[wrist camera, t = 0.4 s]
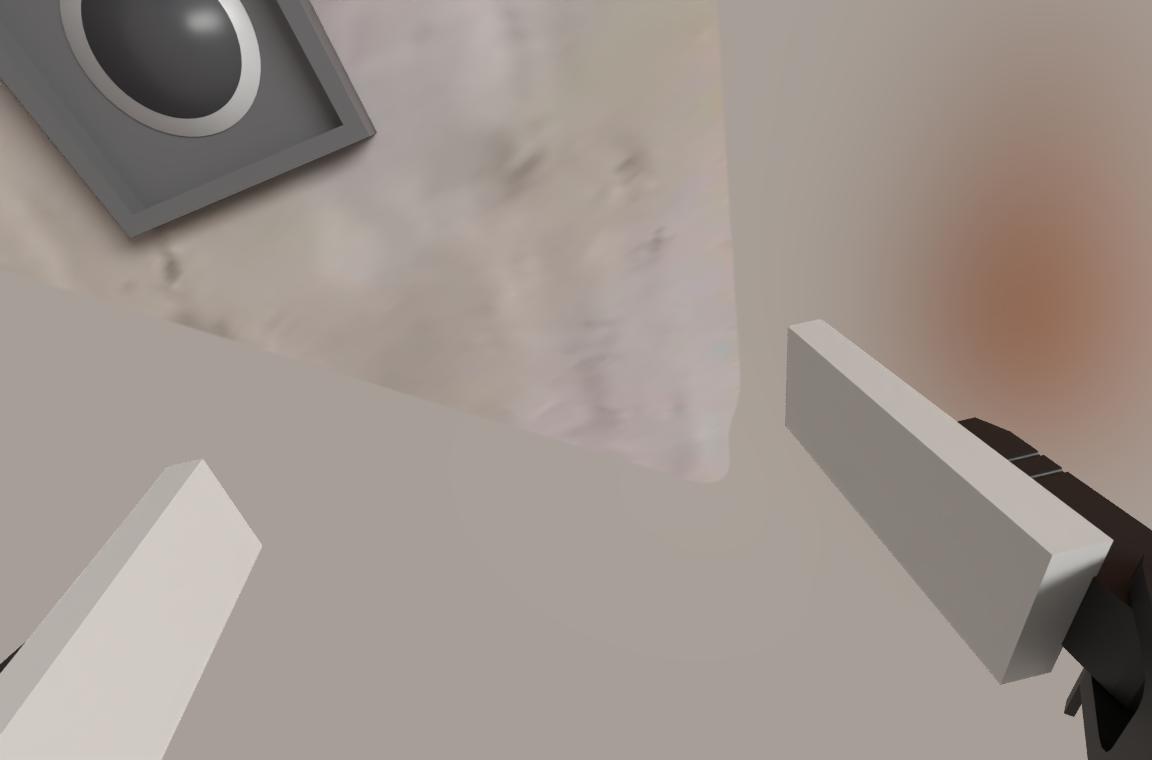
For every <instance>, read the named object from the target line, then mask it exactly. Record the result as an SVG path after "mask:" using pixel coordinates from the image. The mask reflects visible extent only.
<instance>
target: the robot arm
mask: <svg viewBox="0 0 1152 760" xmlns="http://www.w3.org/2000/svg"><path fill="white" fill-rule="evenodd" d="M786 383H787V384H786V418H785V419H786V420H785V425H786V427H787V428H788V429H789V430H790V431H791V433H792V434H793V435H794V436H795V437H796V439H797V440H798V441H799V442H800V443H801V445H802V446H803V447H804V448H805V450H806V451H807V452H808V453H809V454H810V455H811V457H812V458H813V459H814V460H815V462H816V463H817V464H818V465H819V466H820V468H821V469H822V470H823V471H824V472H825V474H826V475H827V476H828V477H829V478H830V480H831V481H832V482H833V483H834V484H835V486H836V487H837V488H838V489H839V490H840V492H841V493H842V494H843V495H844V496H845V498H846V499H847V500H848V501H849V502H850V504H851V505H852V506H853V507H854V509H855V510H856V511H857V512H858V513H859V515H860V516H861V517H862V518H863V519H864V521H865V522H866V523H867V524H868V525H869V527H870V528H871V529H872V530H873V531H874V533H875V534H876V535H877V536H878V538H879V539H880V540H881V541H882V542H883V544H884V545H885V546H886V547H887V548H888V550H889V551H890V552H891V553H892V554H893V556H894V557H895V558H896V559H897V560H898V561H899V563H900V564H901V565H902V566H903V568H904V569H905V570H906V571H907V572H908V574H909V575H910V576H911V577H912V579H913V580H914V581H915V582H916V583H917V585H918V586H919V587H920V588H921V589H922V591H923V592H924V593H925V594H926V595H927V596H928V598H929V599H930V600H931V601H932V602H933V604H934V605H935V606H936V607H937V608H938V610H939V611H940V612H941V613H942V614H943V616H944V617H945V618H946V619H947V621H948V622H949V623H950V624H951V626H952V627H953V628H954V629H955V630H956V632H957V633H958V634H959V635H960V636H961V638H962V639H963V640H964V641H965V642H966V643H967V645H968V646H969V647H970V648H971V650H972V651H973V652H974V653H975V654H976V656H977V657H978V658H979V659H980V660H981V662H982V663H983V664H984V665H985V666H986V668H987V669H988V670H989V671H990V673H991V674H992V675H993V676H994V677H995V678H996V680H997V681H998V682H999V683H1000V685H1001V684H1005V683H1009V682H1013V681H1017V680H1021V679H1025V678H1029V677H1032V676H1037V675H1041V674H1045V673H1049V672H1051V670H1052V669H1053V666H1054V664H1055V662H1056V660H1057V658H1058V656H1059V654H1060V652H1061V650H1062V648H1063V647H1064V648H1065V649H1066V650H1067V651H1068V652H1069V653H1070V654H1071V655H1072V656H1073V657H1074V658H1075V659H1076V660H1077V661H1078V662H1079V663H1080V664H1081V665H1082V666H1083V667H1084V668H1083V671H1082V672H1081V674H1080V676H1079V678H1078V680H1077V682H1076V684H1075V685H1074V687H1073V689H1072V691H1071V693H1070V695H1069V697H1068V699H1067V701H1066V706H1065V711H1064V713H1065V714H1068V715H1070V716H1073V717H1074V716H1075V714H1076V713H1077V711H1078V709H1079V707H1080V705H1081V704H1082V710H1083V719H1084V728H1085V738H1086V746H1087V756H1088V760H1152V530H1150V529H1149V528H1147V527H1146V526H1145V525H1143V524H1142V523H1140V522H1139V521H1138V520H1136V519H1135V518H1133V517H1132V516H1130V515H1129V514H1128V513H1126V512H1125V511H1123V510H1122V509H1120V508H1119V507H1117V506H1116V505H1115V504H1113V503H1112V502H1110V501H1109V500H1107V499H1106V498H1104V497H1103V496H1102V495H1100V494H1099V493H1097V492H1096V491H1094V490H1093V489H1092V488H1090V487H1089V486H1087V485H1086V484H1085V483H1083V482H1082V481H1080V480H1079V479H1077V478H1076V477H1074V476H1073V475H1072V474H1070V473H1069V472H1066V473H1064V472H1063V471H1062V468H1061V467H1060V466H1059V465H1057V464H1056V463H1054V462H1053V461H1052V460H1050V459H1049V458H1047V457H1046V456H1044V455H1042V456H1040V455H1039V454H1038V451H1037V450H1036V449H1034V448H1033V447H1032V446H1030V445H1029V444H1027V443H1025V442H1024V441H1023V440H1021V439H1020V438H1019V437H1017V436H1016V435H1014V434H1013V433H1011V432H1010V431H1007V430H1005V429H1003V428H1000V427H998V426H995V425H993V424H990V423H988V422H985V421H982V420H980V419H977V418H971V419H966V420H962V421H958V422H957V421H955V420H954V419H953V418H951V417H950V416H949V415H947V414H946V413H945V412H943V411H942V410H941V409H939V408H938V407H937V406H935V405H934V404H933V403H931V402H930V401H929V400H927V399H926V398H925V397H923V396H922V395H921V394H920V393H918V392H917V391H916V390H914V389H913V388H912V387H910V386H909V385H908V384H906V383H905V382H904V381H902V380H901V379H900V378H898V377H897V376H896V375H894V374H893V373H892V372H890V371H889V370H888V369H886V368H885V367H884V366H882V365H881V364H880V363H879V362H877V361H876V360H875V359H873V358H872V357H871V356H869V355H868V354H867V353H865V352H864V351H863V350H861V349H860V348H859V347H857V346H856V345H855V344H853V343H852V342H851V341H849V340H848V339H847V338H846V337H844V336H843V335H841V334H840V333H839V332H838V331H836V330H835V329H833V328H832V327H831V326H830V325H828V324H827V323H826V322H824V321H823V320H821V319H819V320H814V321H810V322H805V323H801V324H797V325H792V326H788V345H787V382H786ZM261 548H262V545H261V543H260V542H259V540H258V539H257V537H256V536H255V535H254V533H253V531H252V530H251V529H250V527H249V526H248V524H247V523H246V521H245V520H244V519H243V517H242V515H241V514H240V512H239V511H238V510H237V508H236V507H235V505H234V504H233V502H232V501H231V499H230V498H229V496H228V495H227V493H226V492H225V491H224V489H223V488H222V486H221V485H220V483H219V482H218V480H217V479H216V477H215V476H214V475H213V473H212V472H211V470H210V469H209V467H208V466H207V464H206V463H205V461H204V460H203V459H198V460H194V461H189V462H185V463H181V464H176V465H172V466H168V467H167V468H166V469H165V470H164V471H163V472H162V474H161V475H160V476H159V477H158V479H157V480H156V481H155V482H154V484H153V485H152V486H151V487H150V489H149V490H148V491H147V492H146V494H145V495H144V496H143V497H142V498H141V500H140V501H139V502H138V503H137V505H136V506H135V507H134V508H133V510H132V511H131V512H130V514H129V515H128V516H127V517H126V518H125V520H124V521H123V522H122V523H121V525H120V526H119V527H118V528H117V529H116V531H115V532H114V533H113V534H112V536H111V537H110V538H109V539H108V541H107V542H106V543H105V544H104V546H103V547H102V548H101V549H100V551H99V552H98V553H97V554H96V556H95V557H94V558H93V559H92V561H91V562H90V563H89V564H88V566H87V567H86V568H85V569H84V570H83V572H82V573H81V574H80V575H79V577H78V578H77V579H76V580H75V581H74V583H73V584H72V585H71V587H70V588H69V589H68V590H67V591H66V593H65V594H64V595H63V597H62V598H61V599H60V600H59V602H58V603H57V604H56V605H55V606H54V608H53V609H52V610H51V611H50V613H49V614H48V615H47V616H46V617H45V619H44V620H43V621H42V622H41V624H40V625H39V626H38V628H37V629H36V630H35V631H34V633H33V634H32V635H31V636H30V637H29V639H28V640H27V641H26V642H25V643H24V644H23V645H22V646H20V647H19V648H18V649H17V650H16V651H15V652H14V653H12V654H11V655H10V656H9V657H8V658H7V659H6V660H5V661H3V662H2V663H1V664H0V760H161V759H162V757H163V755H164V753H165V751H166V749H167V747H168V744H169V742H170V740H171V738H172V736H173V734H174V732H175V730H176V728H177V726H178V723H179V721H180V719H181V717H182V715H183V713H184V711H185V709H186V707H187V704H188V702H189V700H190V698H191V696H192V694H193V692H194V689H195V687H196V685H197V683H198V681H199V679H200V677H201V675H202V673H203V671H204V668H205V666H206V664H207V662H208V660H209V658H210V656H211V654H212V651H213V649H214V647H215V645H216V643H217V641H218V639H219V637H220V635H221V633H222V630H223V628H224V626H225V624H226V622H227V620H228V618H229V616H230V613H231V611H232V609H233V607H234V605H235V603H236V601H237V599H238V596H239V595H240V592H241V590H242V588H243V586H244V584H245V582H246V580H247V577H248V575H249V573H250V571H251V569H252V567H253V564H254V563H255V561H256V559H257V557H258V554H259V552H260V550H261Z"/></svg>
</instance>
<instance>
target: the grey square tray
mask: <svg viewBox="0 0 1152 760" xmlns="http://www.w3.org/2000/svg"><path fill="white" fill-rule="evenodd" d="M0 78H1V79H2V80H3V82H4V83H5V84H6V85H7V87H8V88H9V89H10V90H11V91H12V93H13V94H14V95H15V96H16V98H17V99H18V100H19V101H20V103H21V104H22V105H23V106H24V108H25V109H26V110H27V111H28V113H29V114H30V115H31V116H32V117H33V119H34V120H35V121H36V122H37V124H38V125H39V126H40V127H41V129H42V130H43V131H44V132H45V134H46V135H47V136H48V137H49V139H50V140H51V141H52V142H53V143H54V145H55V146H56V147H57V148H58V150H59V151H60V152H61V153H62V155H63V156H64V157H65V158H66V160H67V161H68V162H69V163H70V164H71V166H72V167H73V168H74V169H75V171H76V172H77V173H78V174H79V176H80V177H81V178H82V179H83V181H84V182H85V183H86V184H87V186H88V187H89V188H90V189H91V190H92V192H93V193H94V194H95V195H96V197H97V198H98V199H99V200H100V202H101V203H102V204H103V205H104V207H105V208H106V209H107V210H108V212H109V213H110V214H111V215H112V216H113V218H114V219H115V220H116V221H117V223H118V224H119V225H120V226H121V228H122V229H123V230H124V231H125V233H126V234H127V235H128V236H129V238H132V237H134V236H136V235H139V234H141V233H143V232H146V231H148V230H150V229H153V228H155V227H158V226H160V225H162V224H165V223H167V222H169V221H172V220H174V219H176V218H179V217H181V216H183V215H186V214H188V213H191V212H193V211H195V210H198V209H200V208H202V207H205V206H207V205H209V204H212V203H214V202H216V201H219V200H221V199H223V198H226V197H228V196H231V195H233V194H235V193H238V192H240V191H242V190H245V189H247V188H249V187H252V186H254V185H256V184H259V183H261V182H264V181H266V180H268V179H271V178H273V177H275V176H278V175H280V174H282V173H285V172H287V171H289V170H292V169H294V168H297V167H299V166H301V165H304V164H306V163H308V162H311V161H313V160H315V159H318V158H320V157H322V156H325V155H327V154H330V153H332V152H334V151H337V150H339V149H341V148H344V147H346V146H348V145H351V144H353V143H355V142H358V141H360V140H363V139H365V138H367V137H370V136H372V135H373V134H375V133H377V132H376V130H375V128H374V126H373V124H372V122H371V120H370V118H369V116H368V114H367V112H366V110H365V108H364V107H363V105H362V103H361V101H360V99H359V97H358V95H357V93H356V91H355V89H354V87H353V85H352V83H351V81H350V79H349V77H348V75H347V73H346V71H345V69H344V67H343V65H342V63H341V61H340V59H339V57H338V56H337V54H336V52H335V50H334V48H333V46H332V44H331V42H330V40H329V38H328V36H327V34H326V32H325V30H324V28H323V26H322V24H321V22H320V20H319V18H318V16H317V14H316V12H315V10H314V8H313V7H312V5H311V3H310V1H309V0H0Z"/></svg>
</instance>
